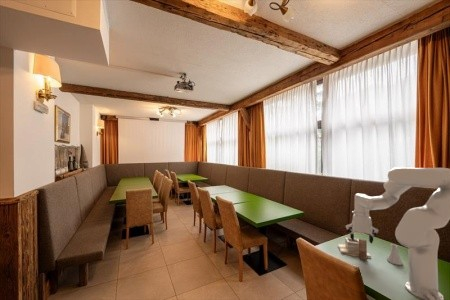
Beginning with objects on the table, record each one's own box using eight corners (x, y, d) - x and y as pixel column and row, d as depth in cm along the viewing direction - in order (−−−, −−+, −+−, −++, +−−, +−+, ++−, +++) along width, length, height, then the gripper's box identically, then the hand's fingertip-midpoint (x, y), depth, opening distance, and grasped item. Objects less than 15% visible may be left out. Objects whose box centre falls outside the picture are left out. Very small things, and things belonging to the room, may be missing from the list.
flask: (405, 266, 111) (405, 248, 112) (391, 264, 113) (391, 247, 113) (397, 259, 119) (396, 243, 119) (384, 258, 120) (383, 242, 120)
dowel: (367, 261, 116) (367, 241, 117) (360, 260, 118) (359, 240, 118) (365, 258, 120) (365, 239, 120) (358, 257, 121) (357, 238, 122)
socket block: (370, 258, 120) (370, 246, 120) (341, 253, 125) (341, 242, 126) (364, 249, 131) (364, 238, 131) (337, 245, 137) (337, 235, 137)
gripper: (347, 213, 120) (347, 241, 119) (380, 217, 114) (380, 246, 113) (344, 210, 127) (344, 236, 127) (375, 213, 121) (375, 240, 120)
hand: (361, 241), depth 120 cm, fingers open, 9 cm apart
